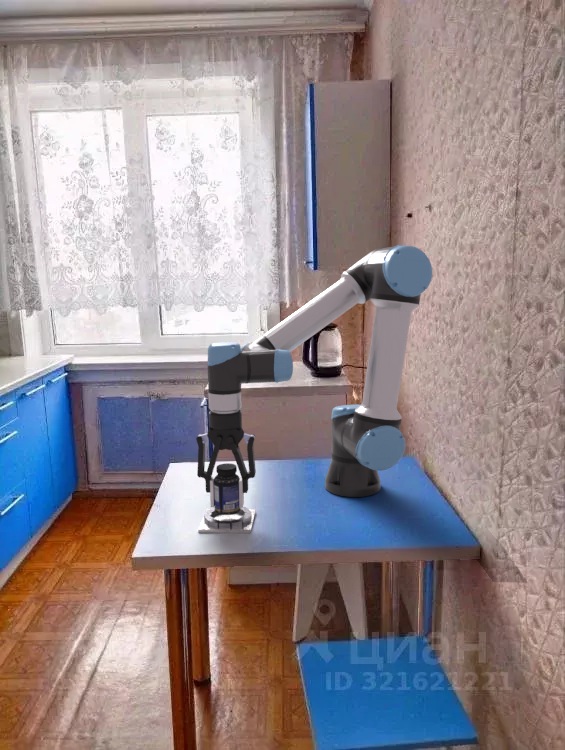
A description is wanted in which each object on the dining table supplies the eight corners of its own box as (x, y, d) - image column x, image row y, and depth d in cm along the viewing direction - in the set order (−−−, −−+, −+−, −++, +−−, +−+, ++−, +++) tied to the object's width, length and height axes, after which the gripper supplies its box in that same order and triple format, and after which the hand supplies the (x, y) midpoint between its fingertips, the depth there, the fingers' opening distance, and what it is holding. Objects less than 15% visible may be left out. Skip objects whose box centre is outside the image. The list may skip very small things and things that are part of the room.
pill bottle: (244, 507, 143) (243, 463, 141) (234, 517, 137) (233, 471, 135) (221, 504, 145) (220, 461, 143) (210, 514, 139) (208, 468, 137)
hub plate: (255, 512, 147) (255, 504, 146) (250, 533, 135) (250, 524, 135) (207, 511, 147) (207, 504, 147) (198, 532, 136) (197, 524, 135)
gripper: (267, 406, 140) (268, 499, 144) (187, 406, 141) (190, 498, 145) (265, 413, 133) (266, 512, 136) (180, 413, 134) (184, 510, 137)
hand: (227, 505), depth 140 cm, fingers closed on pill bottle, 6 cm apart
